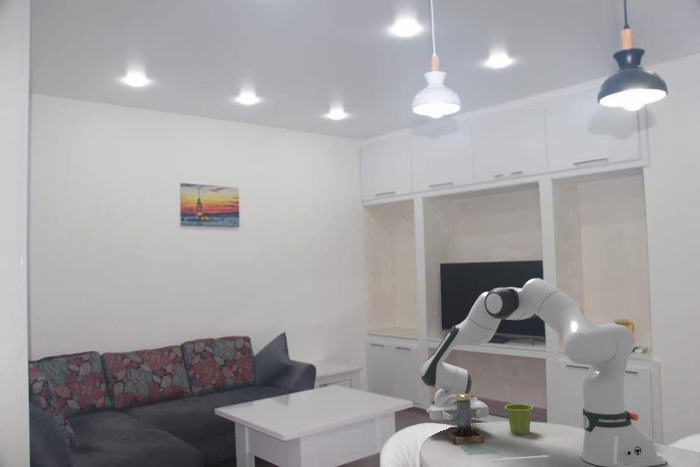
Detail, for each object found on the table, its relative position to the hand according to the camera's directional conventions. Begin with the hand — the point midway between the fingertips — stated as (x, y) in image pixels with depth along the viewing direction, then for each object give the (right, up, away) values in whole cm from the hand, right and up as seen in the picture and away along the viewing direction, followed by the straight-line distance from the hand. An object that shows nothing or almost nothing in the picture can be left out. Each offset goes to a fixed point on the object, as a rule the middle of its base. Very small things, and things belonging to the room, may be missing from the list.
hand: (464, 417), depth 192 cm
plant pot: (+21, -8, +7) cm, 23 cm away
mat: (+2, -7, -12) cm, 14 cm away
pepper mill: (0, -7, -1) cm, 7 cm away
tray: (0, -8, -1) cm, 8 cm away
